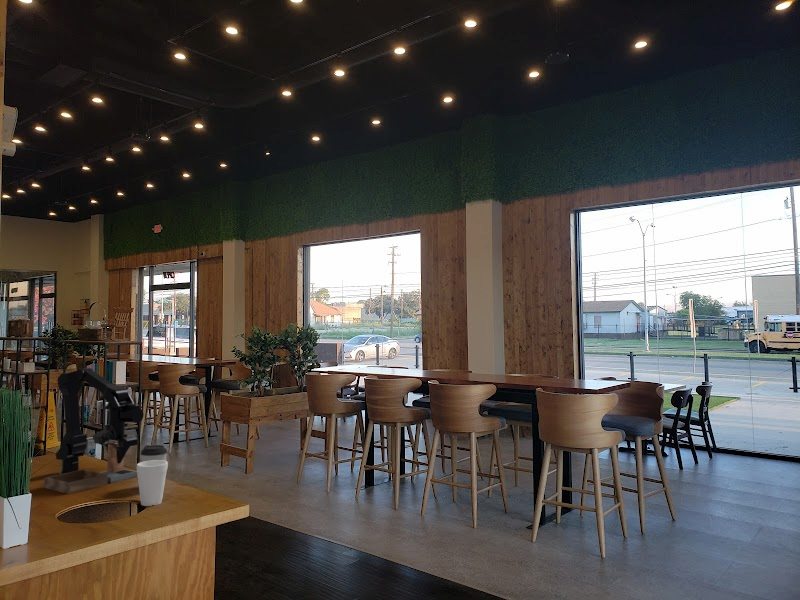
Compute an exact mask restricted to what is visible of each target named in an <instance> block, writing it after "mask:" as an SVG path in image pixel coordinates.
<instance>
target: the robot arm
mask: <svg viewBox="0 0 800 600" xmlns="http://www.w3.org/2000/svg"><path fill="white" fill-rule="evenodd" d="M56 380H57V387H58V390H59V391H60V393H61V394H62V395H63V405H64V418H65V434H64V435H63V438H62V440H61V446H60V448H59V449H58V451H57V452H56V453H55V459H56V460H60V461H61V462H60V463H61V467H60V471H58V472H56V475H59V474H64V473H69V472H73V471H78V470H80V469H79V466H80V465H79V464H80V463H79V462H80V461H79V460H80V459H79V458H80V457H83V456H84V455H85V451H86V450H87V448H88V447H87V445H89V443H88V435H87V434H86V433H83V432H82V431H81V420H80V416H81V415H80V403H79V400H80V398H79V394H80V391H81V390H82V387H83V382H86V383H87V384H88V385H90V386H91V387H93V388H94V389H95V390H96V391H98V392H100V393H101V394H102V398H103V399H104V400H105V402H107V403H108V404H106V406H104V410H108V424H105V427H104V429H102V430H99V431H98V432H96V433H94V434H93V435H92V438H93V442H94V444H98V445H100V446H102V447H104V448H105V450H106V452H107V454H108V444H113V443H118V446H113V447H114V448H115V449H116V450H117V462H118V464H119V463H121V462H122V460H123V458H124V459H125V456H126V453H128V450H129V449H130V448H131V447H132V446H133V447H135V446H137V445H139V439H138V438H137V437H136V436H128V434H126V432H125V431H126V427H128V423H133V424H139V423H140V422H142V420H143V419H144V411H143V409H142V408H141V406H140V404H135V403H134V400H133V398H132V396H131V395H130V393H129V390H128V388H126V387H124V386H121V385H119V384H118V385H117V384H113V383H112V382H111V381H109V380H108V379H105V378H104V377H103V376H102V375H100V374H99V373H97V372H95V371H94V369H93V368H91V367H88V368H87V367H85V368H84V367H83V368H80V369H78V370H73V371H71V372H63V373H62V372H61V373H60V374H59V376H58V377H57V379H56Z"/></svg>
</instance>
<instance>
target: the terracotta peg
mask: <svg viewBox="0 0 800 600" xmlns="http://www.w3.org/2000/svg"><path fill="white" fill-rule="evenodd" d="M113 446H118V443H113V444H108V453H107V465H106V466H107V467H106V469H107V470H106V471H109V472H118V471H122V470H123V469H124V466H125V465H124V463H125V462H124V461H125V457H124V458H123V460H122V462H121V463H119V464H118V462H117V450H116V449H115V448H114V447H113Z"/></svg>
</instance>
